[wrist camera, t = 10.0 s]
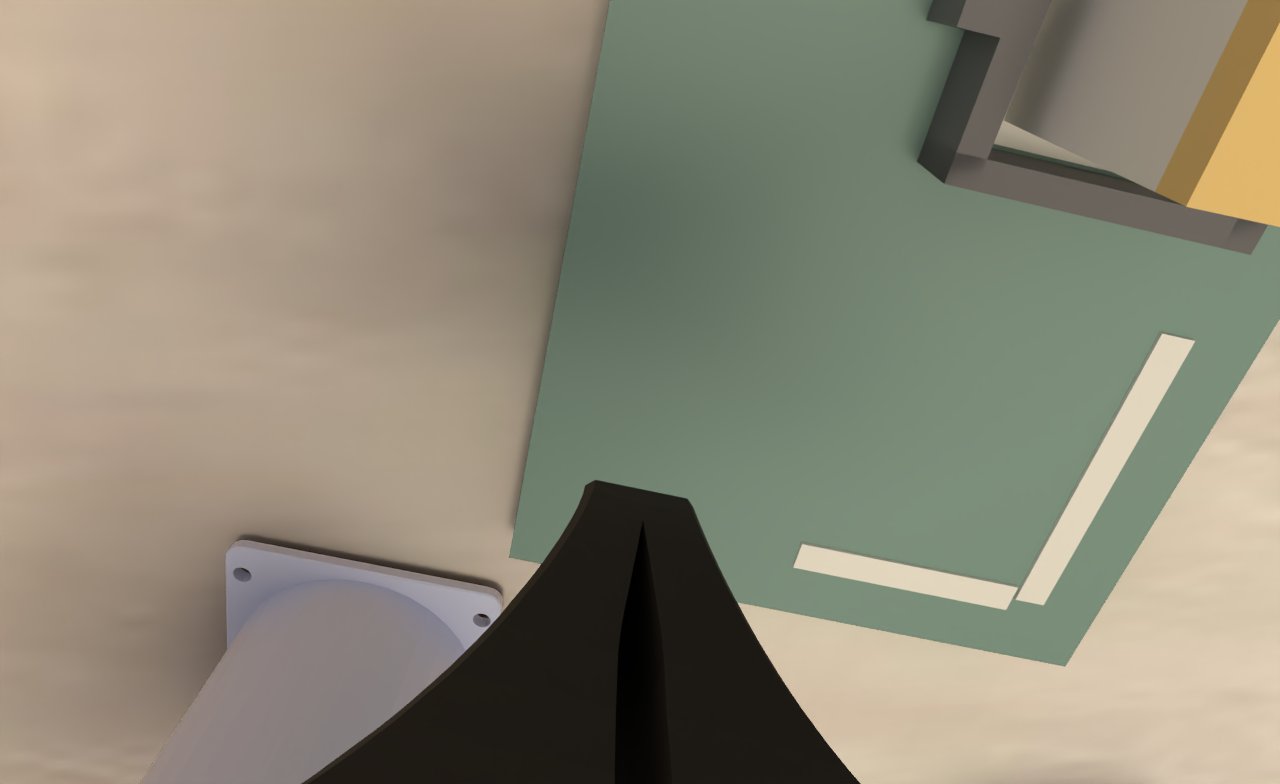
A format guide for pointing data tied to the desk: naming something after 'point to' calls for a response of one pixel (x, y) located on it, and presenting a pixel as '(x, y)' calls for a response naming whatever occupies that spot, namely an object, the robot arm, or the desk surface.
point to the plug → (1164, 97)
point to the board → (880, 320)
